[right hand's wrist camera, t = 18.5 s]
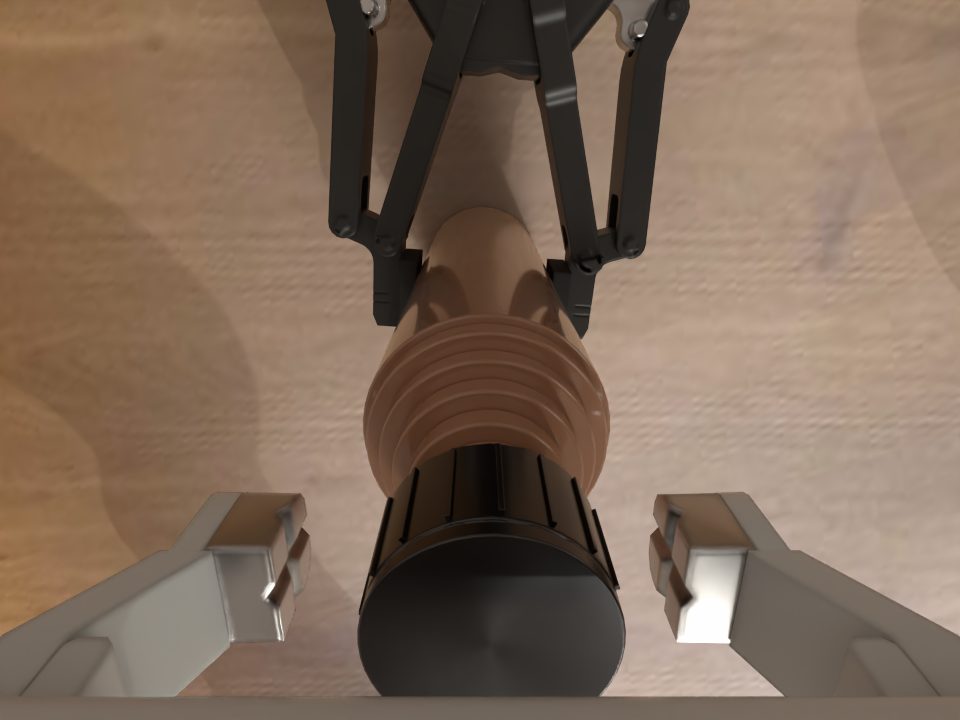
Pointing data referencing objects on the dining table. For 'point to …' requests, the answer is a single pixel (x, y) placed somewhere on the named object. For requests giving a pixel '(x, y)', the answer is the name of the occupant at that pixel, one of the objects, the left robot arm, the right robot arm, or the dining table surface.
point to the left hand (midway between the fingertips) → (475, 393)
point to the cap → (490, 583)
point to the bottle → (485, 360)
